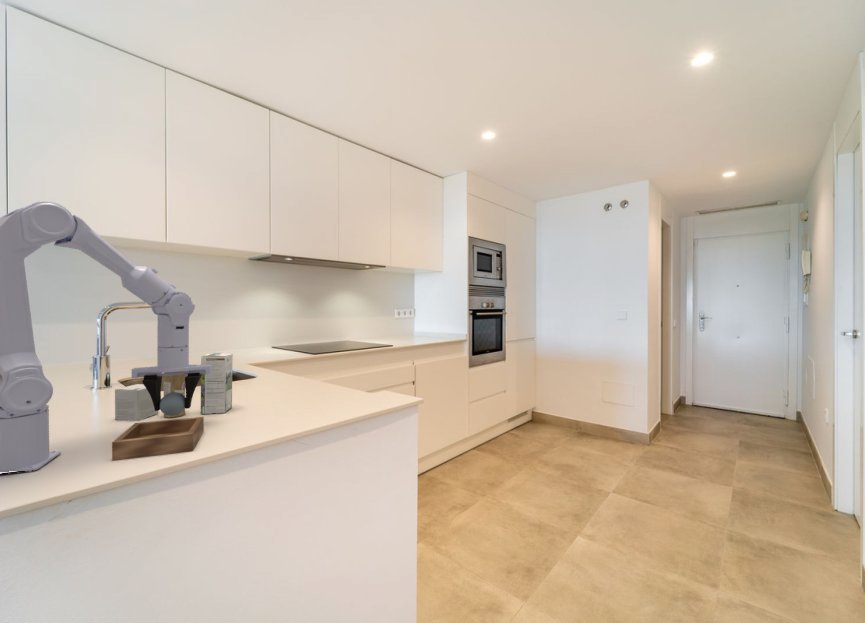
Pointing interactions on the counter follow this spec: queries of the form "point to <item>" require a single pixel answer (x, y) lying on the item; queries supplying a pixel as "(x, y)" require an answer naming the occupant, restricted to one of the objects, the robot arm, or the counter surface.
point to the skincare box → (133, 403)
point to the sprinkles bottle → (174, 387)
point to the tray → (158, 438)
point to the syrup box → (216, 383)
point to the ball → (172, 404)
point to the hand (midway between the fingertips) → (173, 408)
